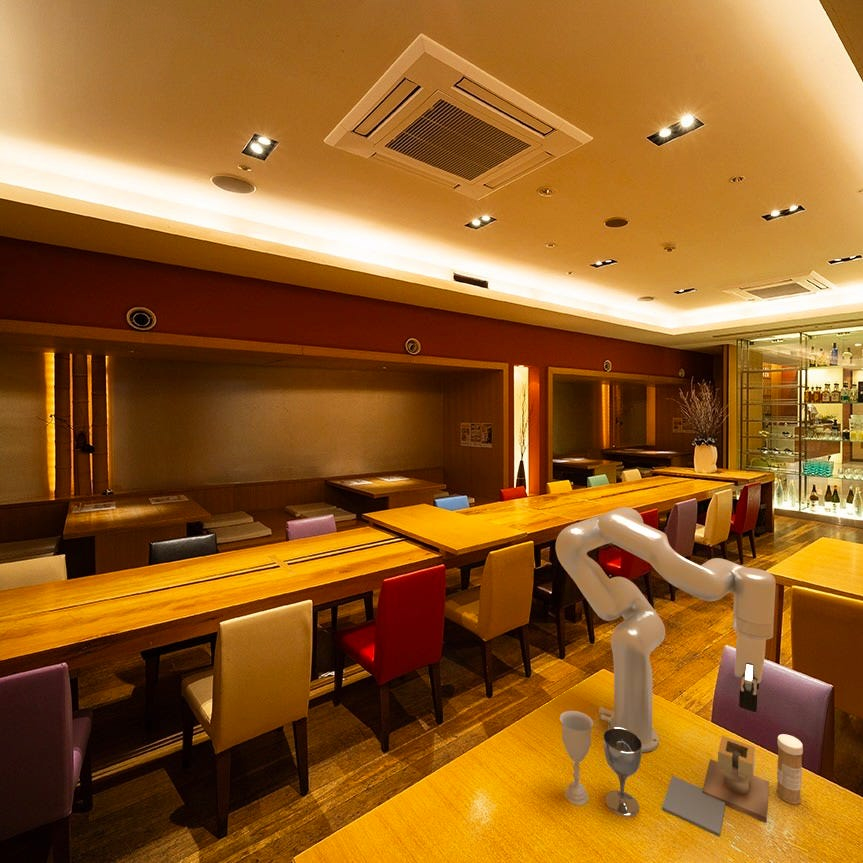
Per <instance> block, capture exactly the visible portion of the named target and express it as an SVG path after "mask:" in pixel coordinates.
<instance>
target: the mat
mask: <svg viewBox="0 0 863 863" xmlns="http://www.w3.org/2000/svg"><path fill="white" fill-rule="evenodd" d="M702 790H703V787H700V786H698V785H695V784H693V783H691V782H688V781H686V780H683V779H681V778H678V777H676V776H673V775H671V779H670V782H669V785H668V788H667V791H666V794H665V796H664V800H663V803H662V806H661V810H662V811H664V812H666V813H668V814H670V815H673V816H674V817H677V818H679V819H681V820H683V821H685V822H688V823H689V824H692V825H695V826H696V827H699V828H701V829H702V830H704V831H707V832H709V833H712V834H714V835H715V836H718V837H720V836H721V831H722V826H723V820H724V815H725V809H726V805H725V802H722V801H720V800H718V799H715V798H713V797H711V796H708V795H706V794H704V793H702Z"/></svg>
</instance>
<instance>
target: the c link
mask: <svg viewBox="0 0 863 863" xmlns="http://www.w3.org/2000/svg"><path fill="white" fill-rule="evenodd" d="M732 751H738V752H739V753H741V756H739V759H738V776H739V777H741V778H744V779H746V780H749V781H751V782H753V776H755V775H754V774H755V764H756V761H755V760H756V747H755V746H753V745H749V744H747V743H744V742H741V741H739V740H736V739H733V738H730V737H728V736H726V735H721V738H720V741H719V747H718V752H717V762H718V769H721V770H723V771H726V772H728V773H731V774H732V766H733V753H732Z"/></svg>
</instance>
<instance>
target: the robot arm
mask: <svg viewBox="0 0 863 863" xmlns="http://www.w3.org/2000/svg"><path fill="white" fill-rule="evenodd" d="M608 544H613V545H615V546H617V547H619V548H620V549H623V550H624V551H626V552H628V553H631V554H632V555H634V556H636V557H638V558H640V559H641V560H644V561H645V562H647V563H649V564H650V565H651V567H652V568H653V569H654V570H655V571H656V572H657V573H658V574H659V575H660V576H661V577H662V579H664V580H665V581H667V582H668V583H669V584H671V585H672V586H673V587H675V588H676V589H679V590H681V591H682V592H684V593H687V594H689V595H691V596H692V597H695V598H697V599H699V600H702V601H707V602H715V601H718V600H721V599H722V598H724V596H726V595H727V594H730V593H731V594H733V610H732V629H733V630H734V631H735V632H737V637H736V645H735V646H736V647H735V663H734V676H735V677H736V678H741V682H740V683H741V684H740V688H739V697H738V699H739V700H738V707H739V708H741V709H744V710H747V711H750V712H753V713H757V710H758V696H759V695H758V693H757V690H758V691H759V689H760V683H761V681H762V676H763V671H764V666H765V665H764V664H765V657H766V646H767V645H766V643H767V640H770V639H772V638H773V637H774V622H775V621H774V620H775V602H776V601H775V600H776V584H777V583H776V581H777V580H776V578H775V577H774V575H773V574H772V573H770V571H769V572H768V571H766V570H763V569H761V568H754V567H747V566H743V565H740V564H738V563H736V562H733V561H732V560H731V561H730V560H728V559H724V558H719V557H718V558H717V557H716V558H715V557H714V558H711V559H709V560H707V561H705V562H704V563H703V564H698V563H695V562H693V561H691V560H689V559H687V558H686V557H684V556H682V555H680V553H677V551H675V550H674V549H673V548H672V546H671V545H670V543H669V540H668V536H667V534H666V533H665V532H663V531H661V530H659V529H656V528H654V527H652V526H650V525H648V524H646V523H644V520H643V517H642V515H641V514H640V513H639V512H638V511H637V510H636V509H633V508H631V507H626V506H624V507H622V506H621V507H618V508H615V509H612V510H610V511H607V512H605V513H602V514H599V515H597V516H594V517H591V518H587V519H584V520H581V521H579V522H575V523H572V524H570V525H568V526H566V527H564V528H563V529H562V530H561V531H560V532H559V534H558V535H557V538H556V541H555V552H556V556H557V559H558V562H559V563H560V564H561V567H563V569H564V570H565V571H566V572H567V574H568V575H569V576H570V578H571V579H572V580H573V582H574V583H575V585H576V586H577V587H578V589H579V590H580V592H581V593H582V595H583V597H584V598H585V599H586V601H587V602H588V604H589V605H590V607H591V608H592V609H593V611H594V612H595V613H596V615H597V616H598V617H599V618H600V619H602V620H603V621H608V622H611V621H614V620H616V619H619V618H620V617H622V618H623V619H624V620H623V621H621V622H620V623H619V624H617V626H616V627H615V628H614V629H613V631H612V633H611V635H610V645H611V651H612V652H611V653H612V657H613V688H614V689H613V709H611V710H609V709H607V708H605V707H602V706H599V710H598V714H599V715H600V720H601V721H604V722H608V724H607V729H610V728H623V729H627V730H629V731H631V732H633V733H634V734H636V735H637V736H638V737H639V738H640V740H641V743H642V753H647V752H651V751H654V750H655V749H657V748H658V746H659V744H660V743H659V741H660V739H659V734H658V733H657V730H655V728H654V727H653V696H654V695H653V694H654V693H653V668H652V666H651V661H650V657H651V656H650V655H651V653H652V652H653V651H654V650H655V649H657V647H658V646H660V645H661V643H662V642H663V641H664V639H665V637H666V627H665V624H664V622H663V620H662V618H661V617H660V615H659V614H658V612H656V610H655V608H653V606H652V605H651V603H649V601H648V600H647V598H646V596H645V595H644V594H643V593H642V591H641V590H640V589H639V587H638V586H637V585H636V584H635V583H634V582H633V581H631V580H630V579H628V578H626V577H623V576H614V577H611V578H609V576H608V575H607V574H606V573H605V571H604V570H603V568H602V567H601V565H600V564H598V562H597V561H595V560H594V559H593V558H591V557H589V555H588V552H590V551H592V550H595V549H597V548H599V547H602V546H604V545H608Z"/></svg>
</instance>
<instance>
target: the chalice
mask: <svg viewBox="0 0 863 863" xmlns="http://www.w3.org/2000/svg"><path fill="white" fill-rule="evenodd" d="M559 720H560V722H561V726H562V728H561V732H562V734H561V737H562V742H563V745H564V748H565V750H566V752H567V754H568V757H569V758H570V759H571V761H573V762H574V763H573V765H572V769H573V773H572V777H573V781H571V782H570V783H569V784H568V786H567V788H566V790H565V792H564V794H565V797H566V799H567V800H568V802H570V803H571V804H573V805H577V806H583V805H586V804H587V802H588V801H589V796H588V794H587V791H586V788H585V786H584V785H583V784H582V783H581V782H579V780H580V779H581V776H582V775H581V774H580V770H581V767H580V764H579V763H581V762H583V761H584V759H585V757H586V756H587V754H588V753H589V750H590V748H591V744H592V743H591V742H592V737H591V736H592V733H591V732H592V728H593V726H594V721H593V719H592V718H591V717H590V716H589V715H587V714H586V713H583V712H581V711H577V710H567V711H564V712H562V713H561V714H560V717H559Z"/></svg>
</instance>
